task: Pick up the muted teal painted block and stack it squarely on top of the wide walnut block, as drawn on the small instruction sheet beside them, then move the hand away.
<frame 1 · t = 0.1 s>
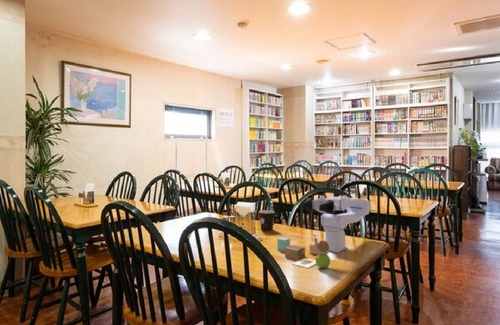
hand: (311, 206, 136), 22 cm above the table, tool horizontal, fingers open, 7 cm apart
coffee mug: (267, 230, 187), on the table
walnut base brick: (295, 256, 142), on the table
instruction sheet: (306, 263, 133), on the table
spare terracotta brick: (315, 252, 147), on the table
snail figurine: (321, 268, 128), on the table
teal brick: (283, 249, 151), on the table
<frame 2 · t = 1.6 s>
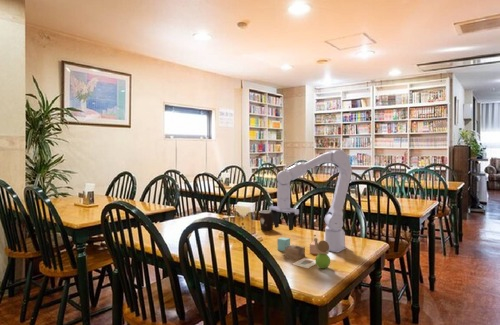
hand: (283, 228, 151), 9 cm above the table, tool pointing down, fingers open, 7 cm apart
nothing on the table moved.
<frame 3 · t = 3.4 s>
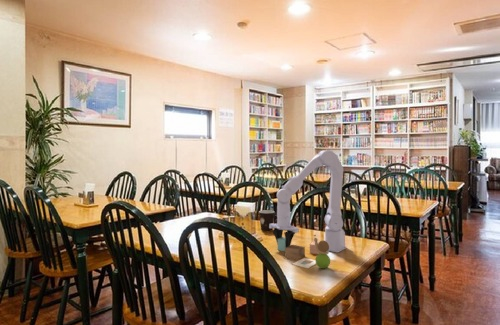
hand: (283, 246, 151), 1 cm above the table, tool pointing down, fingers closed on teal brick, 4 cm apart
teal brick: (283, 249, 151), on the table, touching gripper
everything else where it was.
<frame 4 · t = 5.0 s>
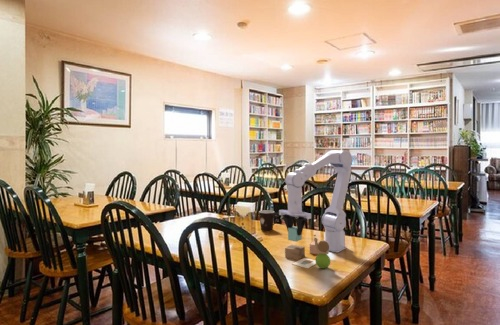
hand: (294, 233, 141), 9 cm above the table, tool pointing down, fingers closed on teal brick, 4 cm apart
teal brick: (294, 239, 141), point 7 cm above the table, touching gripper
everything else where it was.
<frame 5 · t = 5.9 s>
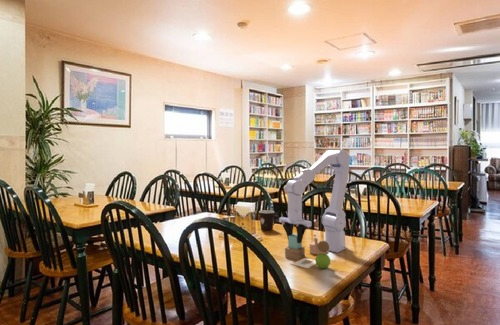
hand: (294, 241, 141), 6 cm above the table, tool pointing down, fingers closed on teal brick, 4 cm apart
teal brick: (295, 247, 142), point 4 cm above the table, touching gripper
everything else where it was.
when the fingers open (6 cm above the table, at t = 6.5 s): teal brick stays where it is, point 4 cm above the table.
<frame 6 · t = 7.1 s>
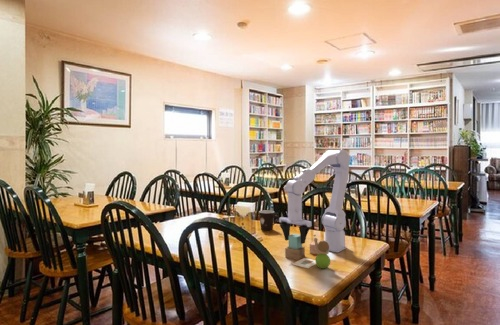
hand: (294, 241, 141), 6 cm above the table, tool pointing down, fingers open, 7 cm apart
teal brick: (295, 247, 142), point 4 cm above the table
everything else where it was.
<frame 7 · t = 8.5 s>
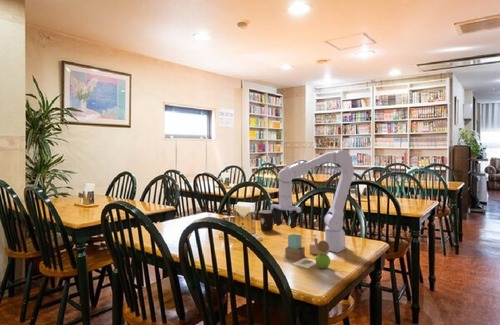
hand: (285, 226, 150), 10 cm above the table, tool pointing down, fingers open, 7 cm apart
walnut base brick: (295, 257, 142), on the table, touching teal brick
teal brick: (294, 247, 142), point 4 cm above the table, touching walnut base brick
everything else where it was.
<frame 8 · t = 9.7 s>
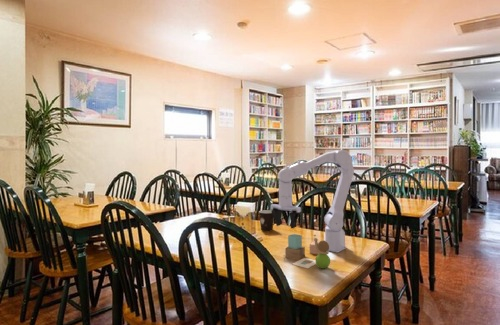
hand: (285, 226, 150), 10 cm above the table, tool pointing down, fingers open, 7 cm apart
walnut base brick: (295, 257, 142), on the table
teal brick: (295, 247, 141), point 4 cm above the table
everything else where it was.
at the end: teal brick 0.1 cm off-centre on the walnut base brick, point 4.0 cm above the walnut base brick's base; teal brick tilted 0°; the gripper is holding nothing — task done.
